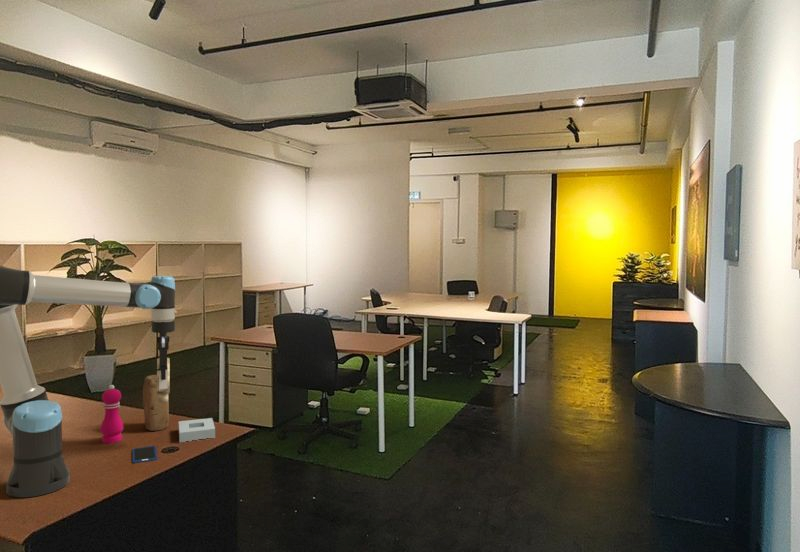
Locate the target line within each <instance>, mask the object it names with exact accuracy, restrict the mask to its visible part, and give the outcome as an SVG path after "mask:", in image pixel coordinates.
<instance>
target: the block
mask: <svg viewBox="0 0 800 552" xmlns="http://www.w3.org/2000/svg"><path fill="white" fill-rule="evenodd" d="M142 387H143V388H142V401H143V402H142V405H143V414H144V415H143V416H144V425H145V428H146V429H147V430H148V431H153V432H157V431H162V430H164V429H166V428H168V426H169V419H170V418H169V417H170V415H169V414H170V413H169V412H170V409H169V408H170V406H169V403H170V402H169V401H170V400H169V397H168V402H164V403H160V402H158V394H157V374H151V375H147V376H146V377H145V379H144V380H143V385H142Z"/></svg>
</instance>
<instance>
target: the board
mask: <svg viewBox="0 0 800 552" xmlns="http://www.w3.org/2000/svg"><path fill="white" fill-rule="evenodd" d="M178 438H179V441H178V442H179V443H187V442H186V441H189V442H193V441H192V440H197V441H199V440H198V439H206V438H214V439H216V426H215V423H214V420H213V417H208V418H198V419H197V418H196V419H189V420H181V421H178ZM206 440H207V439H206Z"/></svg>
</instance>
